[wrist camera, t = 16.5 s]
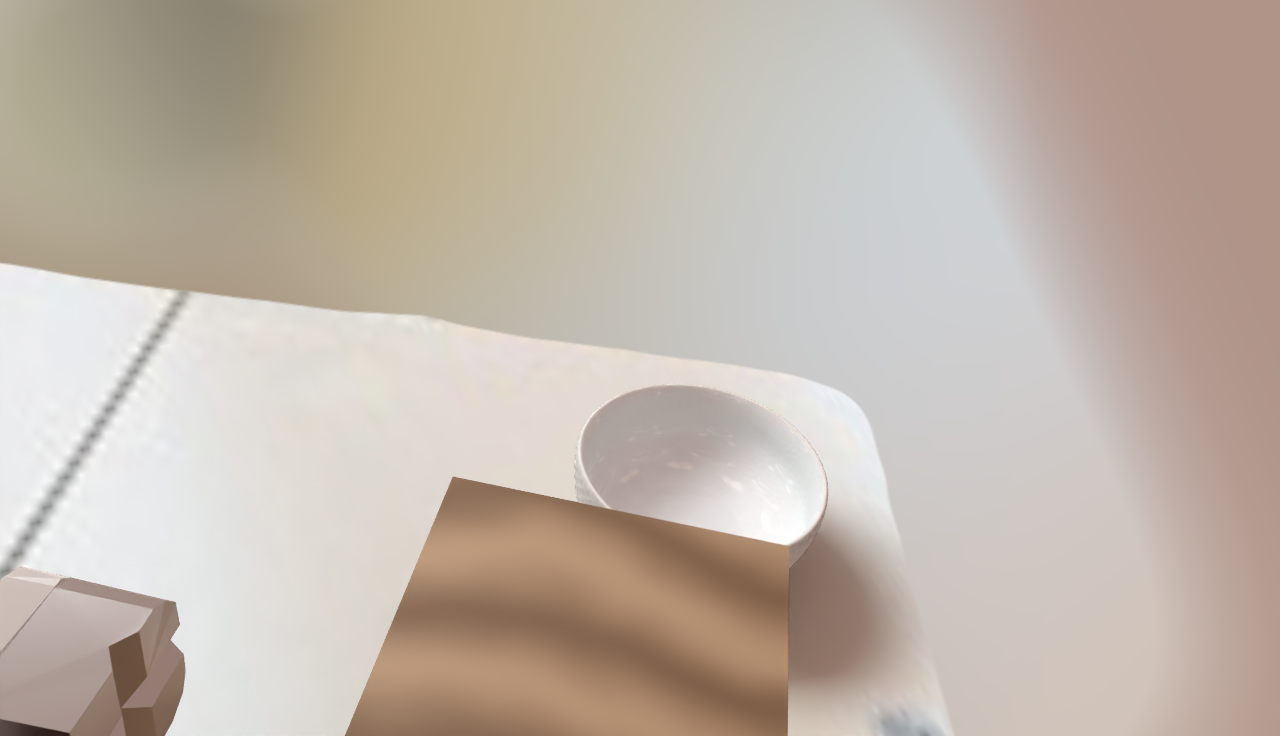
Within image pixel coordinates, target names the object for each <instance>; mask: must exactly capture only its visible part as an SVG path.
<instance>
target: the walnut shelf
mask: <svg viewBox="0 0 1280 736" xmlns="http://www.w3.org/2000/svg"><path fill="white" fill-rule="evenodd" d="M788 631H789V546H787V545H782V544H777V543H772V542H767V541H762V540H758V539H753V538H748V537H743V536H738V535H733V534H729V533H724V532H719V531H714V530H709V529H704V528H699V527H695V526H690V525H685V524H680V523H675V522H670V521H666V520H661V519H656V518H651V517H646V516H641V515H636V514H632V513H627V512H622V511H617V510H612V509H607V508H602V507H598V506H593V505H588V504H583V503H578V502H573V501H569V500H564V499H559V498H554V497H549V496H544V495H539V494H535V493H530V492H525V491H520V490H515V489H510V488H506V487H501V486H496V485H491V484H486V483H481V482H476V481H472V480H467V479H462V478H457V477H453V478H452V480H451V482H450V485H449V487H448V490H447V492H446V494H445V497H444V499H443V502H442V504H441V507H440V509H439V511H438V514H437V516H436V519H435V521H434V523H433V526H432V528H431V531H430V533H429V535H428V538H427V540H426V543H425V545H424V547H423V550H422V552H421V555H420V557H419V559H418V562H417V564H416V567H415V569H414V571H413V574H412V576H411V579H410V581H409V583H408V586H407V588H406V591H405V593H404V595H403V598H402V600H401V603H400V605H399V607H398V610H397V612H396V615H395V617H394V619H393V622H392V624H391V627H390V629H389V631H388V634H387V636H386V639H385V641H384V643H383V646H382V648H381V651H380V653H379V655H378V658H377V660H376V663H375V665H374V667H373V670H372V672H371V675H370V677H369V679H368V682H367V684H366V687H365V689H364V691H363V694H362V696H361V699H360V701H359V703H358V706H357V708H356V711H355V713H354V715H353V718H352V720H351V723H350V725H349V727H348V730H347V732H346V735H345V736H788Z"/></svg>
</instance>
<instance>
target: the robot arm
mask: <svg viewBox="0 0 1280 736" xmlns="http://www.w3.org/2000/svg"><path fill="white" fill-rule="evenodd" d="M179 625H180V623H179V618H178V613H177V607H176V602H173V601H169V600H164V599H160V598H156V597H152V596H147V595H143V594H139V593H134V592H130V591H126V590H122V589H117V588H113V587H109V586H105V585H100V584H96V583H92V582H87V581H83V580H79V579H75V578H71V577H67V576H62V575H57V574H53V573H48V572H43V571H39V570H34V569H29V568H25V567H19V568H18V569H16V570H14V571H13V572H11V573H9V574H8V575H6V576H4V577H3V578H2V579H1V580H0V736H165V734H166V732H167V730H168V729H169V727H170V725H171V723H172V722H173V719H174V716H175V713H176V710H177V707H178V705H179V702H180V699H181V696H182V693H183V687H184V679H185V662H184V654H183V653H182V652H181V651H180V650H179V649H178V648H177V647H176V646H175V645H174V644H173V642H172V641H171V640H170V639H171V638H172V636H173V635H174V633H175V631H176V630H177V628H178V627H179Z"/></svg>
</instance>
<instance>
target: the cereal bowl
mask: <svg viewBox="0 0 1280 736" xmlns="http://www.w3.org/2000/svg"><path fill="white" fill-rule="evenodd" d="M575 461H576V462H575V465H574V468H575V475H574V478H575V488H576V495H577V500H578V503H583V504H588V505H593V506H598V507H602V508H607V509H612V510H617V511H622V512H627V513H632V514H636V515H641V516H646V517H651V518H656V519H661V520H666V521H670V522H675V523H680V524H685V525H690V526H695V527H699V528H704V529H709V530H714V531H719V532H724V533H729V534H733V535H738V536H743V537H748V538H753V539H758V540H762V541H767V542H772V543H777V544H782V545H787V546H789V568H791V567H792V566H793V564H794V563H795V562H796V561H798V560H799V559H800V557H801V556H802V555H803V554H804V553H805V551H806V550H807V548H808V547H809V545H810V544H811V543H812V541H813V539H814V537H815V536H816V534H817V531H818V529H819V527H820V525H821V522H822V519H823V517H824V513H825V510H826V507H827V500H828V483H827V478H826V474H825V471H824V468H823V465H822V463H821V461H820V459H819V457H818V455H817V454H816V452H815V450H814V449H813V448H812V446H811V445H810V443H809V442H808V441H807V440H806V439H805V437H804V436H803V435H802V434H801V433H800V432H799V431H798V430H797V429H796V428H795V427H794V426H792V425H791V424H790V423H789V422H787V421H786V420H785V419H783V418H782V417H781V416H779V415H778V414H776V413H775V412H773V411H772V410H770V409H768V408H767V407H765V406H763V405H761V404H759V403H757V402H755V401H753V400H750V399H748V398H745V397H743V396H740V395H737V394H734V393H731V392H728V391H724V390H720V389H716V388H711V387H706V386H699V385H691V384H662V385H653V386H647V387H642V388H638V389H634V390H631V391H628V392H625V393H622V394H620V395H618V396H616V397H614V398H612V399H610V400H608V401H607V402H605V403H604V404H603V405H601V406H600V407H599V408H598V409H597V410H596V411H595V412H594V413H593V414H592V415H591V416H590V418H589V419H588V420H587V422H586V423H585V425H584V427H583V429H582V431H581V433H580V436H579V439H578V444H577V447H576V455H575Z"/></svg>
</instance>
